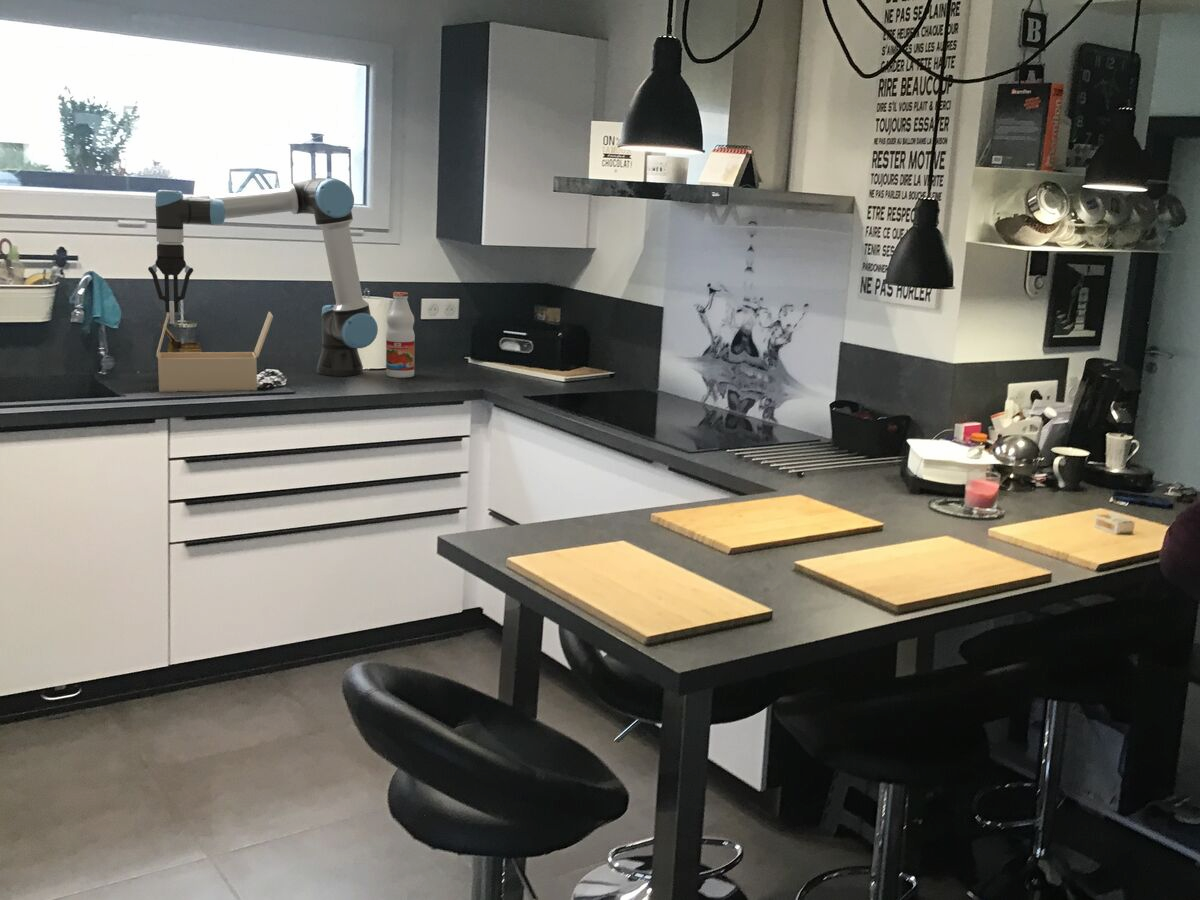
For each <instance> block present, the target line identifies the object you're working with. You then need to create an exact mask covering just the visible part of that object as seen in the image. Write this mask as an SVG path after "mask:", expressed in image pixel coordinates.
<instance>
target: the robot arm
mask: <svg viewBox="0 0 1200 900" xmlns="http://www.w3.org/2000/svg"><path fill="white" fill-rule="evenodd" d="M354 204H355V196H354V192H353V190H352V189H351V187H350V185H348V184H347V183H346V182H344V181H342V180H340V179H338V178H335V177H334V178H331V177H329V178H327V177H326V178H325V177H324V178H321V177H320V178H319V177H318V178H314V179H309V180H303V181H301V182H294V183H288V185H287V186H286V187H278V188H268V189H259V190H249V191H240V192H231V193H221V194H213V195H211V194H210V195H203V196H202V195H201V196H187V197H184V195H183V191H181V190H172V189H171V190H169V189H168V190H167V189H159V190H157V191H156V192H155V206H154V208H155V218H156V219H155V220H156V222H155V223H156V224H155V225H156V229H155V230H156V231H155V233H156V242H157V244H156V260H155V263H154V264H153V265H151V266H148V268H147V269H148V271H149V273H150V274H151V277H152V280H153V283H154V285H155V290H156V294H157V295H158V296H157V297H158V299H159V300H160V301H161V300H162V301H164V304H165V305H164V306H165V310H164V311H165V313H167V312H170V316H169V324H170V325H175V313H178V312H179V302H180V301H183V300H184V299H185V298H186V293H187V289H188V285H189V281H190V276H191V275H192V273H193V272H194V268H193V267H190V266H189V265H188V264H187V263H186V260H185V246H184V245H183V243H184V238H185V237H184V235H185V234H184V224H186V225H187V224H188V225H189V224H193V225H211V226H214V225H223V224H224V222H225V219H233V218H243V217H254V216H261V215H262V216H263V215H271V214H279V213H281V214H282V213H287V212H288V213H289V212H290V213H292V214H293V215H298V214H300V215H301V214H309V215H310V214H311V215H313V216H314V221H315V225H316V226H317V227H319V228H320V229H321V231H322V238H323V242H324V245H325V252H326V256H327V261H328V262H327V263H328V267H329V272H330V277H331V283H332V288H333V293H334V297H335V298H334V299H335V304H327V305H323V306H322V308H321V315H320V316H321V345H322V346H321V353H320V356H319V360H318V362H317V366H316V373H318V374H319V375H324V376H335V377H337V376H340V377H344V376H345V377H347V376H358V375H362V374H363V373H364V367H363V363H362V360H361V357H360V353H359V351H358V349H363V348H367V347H368V346H371V344H373V343H374V341H375V339H376V338H377V335H378V329H379V328H378V323H377V321H376V319H375V318H374V316H372V315H371V310H370V305H369V302H368V301H366V300H365V299H363V298H364V297H363V292H362V287H361V281H360V277H359V270H358V266H357V261H356V255H355V249H354V243H353V239H352V234H351V228H350V225H351V223H352V221H354V219H353V213H352V212H353V211H352V210H353V208H354ZM158 269H159V271H160V272H161V274H163V276H164V295H163V291H162V288H161V284H160V282H159V281H160V280H159V278H158V275H157V271H158ZM182 271H184V273H185V275H184V280H183V283H182V288H181V292H180V295H179V280H178V279H179V278H178V277H179V275H180V273H182ZM170 276H173V277H172V278H173V300H170Z"/></svg>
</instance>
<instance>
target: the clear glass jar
mask: <svg viewBox="0 0 1200 900" xmlns="http://www.w3.org/2000/svg"><path fill="white" fill-rule="evenodd" d="M158 324H159V326H160V328H161V330H163V327H164V323H162V322H161V321H159V322H158ZM165 334H166V336H167V337H168V338H169V343H168V345H167V353H175V350H176V349H177V351H176V353H185V352H203V350H202V349H203V348H201V344H200V342H196V341H195V342H191V341H190V342H184V343H182V341H181V340H177V339H176V338H175V336H174V335H173V333H172V332H171V331H170V330H169V328H168V327H166V330H165Z"/></svg>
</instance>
